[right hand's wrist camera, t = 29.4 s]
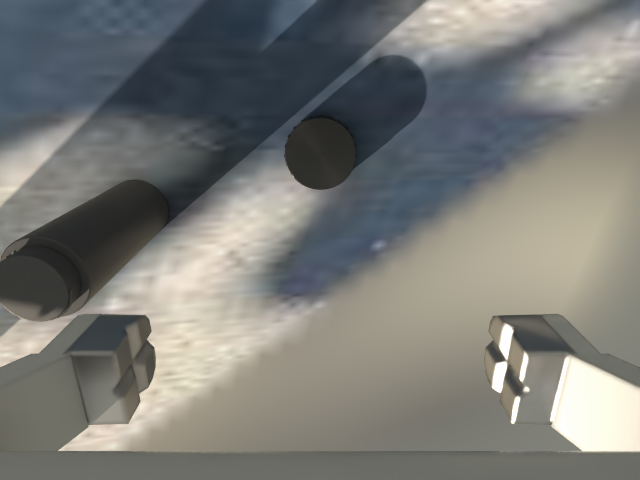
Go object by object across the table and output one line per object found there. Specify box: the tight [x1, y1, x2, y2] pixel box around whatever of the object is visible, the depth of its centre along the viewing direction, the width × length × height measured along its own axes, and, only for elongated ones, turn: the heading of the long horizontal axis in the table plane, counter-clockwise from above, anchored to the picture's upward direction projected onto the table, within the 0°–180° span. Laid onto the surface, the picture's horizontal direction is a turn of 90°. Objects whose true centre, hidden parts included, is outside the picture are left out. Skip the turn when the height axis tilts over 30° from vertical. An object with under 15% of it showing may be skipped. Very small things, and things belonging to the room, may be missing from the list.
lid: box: [284, 115, 357, 190], centre depth 34 cm, size 6×6×2 cm
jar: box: [0, 180, 168, 322], centre depth 30 cm, size 5×5×15 cm
